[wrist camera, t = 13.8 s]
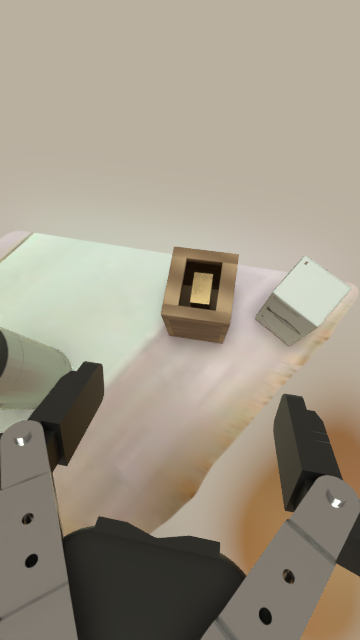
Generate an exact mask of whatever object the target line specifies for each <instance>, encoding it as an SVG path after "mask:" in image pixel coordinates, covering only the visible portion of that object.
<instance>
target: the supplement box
mask: <svg viewBox="0 0 360 640" xmlns="http://www.w3.org/2000/svg"><path fill="white" fill-rule="evenodd" d="M350 290H351V287H350V286H348V285H347V284H345V283H344V282H342V281H341V280H340V279H338V278H337V277H335V276H334V275H333V274H331V273H330V272H328V271H327V270H326V269H324V268H323V267H321V266H320V265H319V264H317V263H316V262H314V261H313V260H312V259H310V258H309V257H307V256H306V255H305V256H304V257H303V258H302V259H301V260H300V261H299V262H298V263H297V264H296V265H295V267H294V268H293V269H292V270H291V271H290V272H289V273H288V274H287V276H286V277H285V278H284V279H283V280H282V282H281V283H280V284H279V285H278V286H277V288H276V289H275V290H274V291H273V292H272V294H271V295H270V297H269V298H268V300H267V301H266V303H265V304H264V306H263V307H262V309H261V310H260V311H259V313H258V314H257V316H256V317H255V319H256V320H258V321H259V322H260V323H262V324H263V325H264V326H266V327H267V328H268V329H269V330H271V331H272V332H273V333H274V334H275V335H277V336H278V337H279V338H280V339H281V340H283V341H284V342H285V343H286V344H287V345H288V346H290V345H292V344H293V343H295V342H296V341H297V340H299V339H300V338H302V337H303V336H305V335H307V334H308V333H310V332H311V331H313V330H314V329H316V328H318V327H319V325H320V324H321V323H322V322H323V321H324V320H325V319H326V317H327V316H328V315H329V314H330V313H331V312H332V311H333V310H334V308H335V307H336V306H337V305H338V304H339V303H340V302H341V301H342V299H343V298H344V297H345V296H346V295H347V294H348V293H349V292H350Z"/></svg>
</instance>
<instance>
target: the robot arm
mask: <svg viewBox="0 0 360 640" xmlns="http://www.w3.org/2000/svg"><path fill="white" fill-rule="evenodd" d="M103 396H104V379H103V366H102V364H99V363H93V362H87V361H85V362H83V364H82V365H81V366H80V368H79V369H78V370H77V371H71V366H70V363H69V361H68V359H67V358H66V356H65V355H64V354H63V353H62V352H60V351H58V350H56V349H54V348H52V347H48V346H46V345H44V344H41V343H39V342H36V341H34V340H31V339H29V338H26V337H24V336H21V335H19V334H17V333H14V332H12V331H9V330H7V329H4V328H2V327H0V409H35V408H36V407H37V406H38V405H39V406H38V407H37V408H36V410H35V411H34V412H33V413H32V415H31V416H30V417H29V418H28V420H27V421H21V422H18V423H16V424H14V425H12V426H11V427H9V428H8V429H7V430H6V431H5V432H4V433H0V640H300V638H301V636H302V633H303V631H304V629H305V627H306V625H307V623H308V621H309V619H310V617H311V615H312V613H313V611H314V609H315V607H316V605H317V603H318V600H319V598H320V596H321V594H322V592H323V590H324V588H325V586H326V584H327V582H328V580H329V578H330V576H331V574H332V571H333V570H334V567H335V565H336V563H337V564H339V565H341V566H342V567H344V568H346V569H347V570H349V571H351V572H353V573H355V574H356V575H358V576H360V500H359V498H358V496H357V494H356V493H355V491H354V490H353V489H352V488H351V487H350V486H349V485H348V484H347V483H346V482H344V481H343V479H342V476H341V473H340V470H339V468H338V464H337V462H336V459H335V456H334V453H333V450H332V447H331V444H330V441H329V438H328V435H327V434H326V433H327V432H326V429H325V426H324V423H323V421H322V420H321V419H320V417H319V416H318V415H317V414H316V412H315V411H310V410H307V409H306V406H305V403H304V399H303V398H302V396H296V395H289V394H283V395H282V398H281V401H280V404H279V407H278V410H277V413H276V416H275V420H274V431H273V432H274V440H275V447H276V454H277V460H278V467H279V474H280V481H281V488H282V495H283V502H284V509H285V511H289V512H294V513H293V514H292V516H291V517H290V519H289V520H288V519H287V520H286V521H285V522H284V524H283V525H282V526H281V528H280V529H279V531H278V532H277V534H276V535H275V536H274V538H273V539H272V541H271V542H270V544H269V545H268V546H267V548H266V549H265V551H264V552H263V554H262V555H261V556H260V558H259V559H258V561H257V562H256V564H255V565H254V567H253V568H252V569H251V571H250V572H249V574H248V575H247V576H246V575H245V574H244V572H243V571H242V570H241V569H240V568H239V567H238V566H237V565H236V564H235V563H234V562H233V561H231V560H230V559H229V558H227V557H226V556H224V555H223V554H221V553H220V542H216V541H212V540H207V539H202V538H198V537H193V536H179V537H167V538H155V537H153V536H151V535H149V534H147V533H146V532H144V531H142V530H140V529H138V528H137V527H135V526H133V525H131V524H129V523H128V522H123V521H119V520H114V519H109V518H105V517H100V516H99V517H98V519H97V522H96V525H95V526H91V527H86V528H82V529H79V530H77V531H74V532H72V533H70V534H68V535H66V536H65V537H64V533H63V528H62V523H61V518H60V512H59V506H58V501H57V495H56V489H55V484H54V478H53V471H54V469H55V468H56V466H57V464H59V465H64V466H67V465H68V463H69V461H70V460H71V458H72V456H73V454H74V452H75V450H76V448H77V447H78V445H79V443H80V441H81V439H82V437H83V436H84V434H85V432H86V430H87V428H88V426H89V425H90V423H91V421H92V419H93V417H94V415H95V413H96V412H97V410H98V408H99V406H100V404H101V402H102V400H103Z"/></svg>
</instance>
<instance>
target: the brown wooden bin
mask: <svg viewBox="0 0 360 640" xmlns="http://www.w3.org/2000/svg"><path fill="white" fill-rule="evenodd" d="M238 257H239V254H231V253H223V252H214V251H206V250H198V249H190V248H182V247H174V250H173V255H172V260H171V265H170V270H169V275H168V280H167V286H166V291H165V296H164V301H163V306H162V311H161V316H162V318H163V321H164V323H165V326H166V328H167V331H168V333H169V335H170V336H176V337H183V338H189V339H196V340H202V341H209V342H216V343H222V344H223V341H224V338H225V336H226V333H227V331H228V328H229V325H230V319H231V312H232V304H233V296H234V288H235V281H236V273H237V265H238ZM194 272H197V273H206V274H213V279H212V293H211V301H210V309H209V310H206V309H199V308H192V307H190V299H191V293H192V286H193V279H194Z"/></svg>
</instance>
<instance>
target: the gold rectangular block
mask: <svg viewBox="0 0 360 640" xmlns="http://www.w3.org/2000/svg"><path fill="white" fill-rule="evenodd" d="M212 279H213V274H206V273H197V272H194V279H193V286H192V293H191V299H190V307H192V308H199V309H206V310H209V309H210V301H211V293H212Z"/></svg>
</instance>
